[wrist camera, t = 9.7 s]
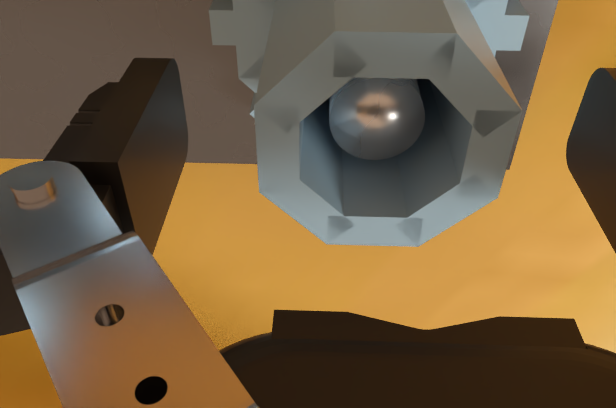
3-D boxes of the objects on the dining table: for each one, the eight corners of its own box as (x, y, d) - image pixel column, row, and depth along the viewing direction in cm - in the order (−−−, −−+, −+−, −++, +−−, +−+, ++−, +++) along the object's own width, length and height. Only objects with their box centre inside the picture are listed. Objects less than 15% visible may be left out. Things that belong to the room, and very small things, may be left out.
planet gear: (555, -160, 12) (713, -90, 7) (482, 140, 17) (545, 306, 12) (200, -164, 12) (111, -98, 7) (230, 134, 17) (188, 296, 12)
